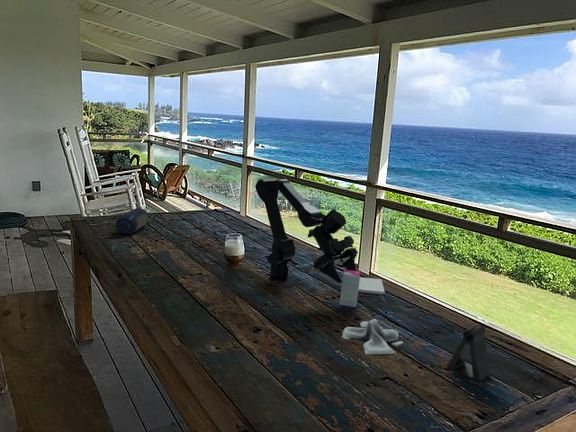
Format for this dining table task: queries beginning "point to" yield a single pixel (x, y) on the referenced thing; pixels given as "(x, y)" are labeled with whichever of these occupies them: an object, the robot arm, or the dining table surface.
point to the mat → (371, 285)
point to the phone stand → (479, 358)
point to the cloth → (373, 337)
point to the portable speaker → (132, 221)
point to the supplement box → (349, 288)
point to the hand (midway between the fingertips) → (348, 279)
